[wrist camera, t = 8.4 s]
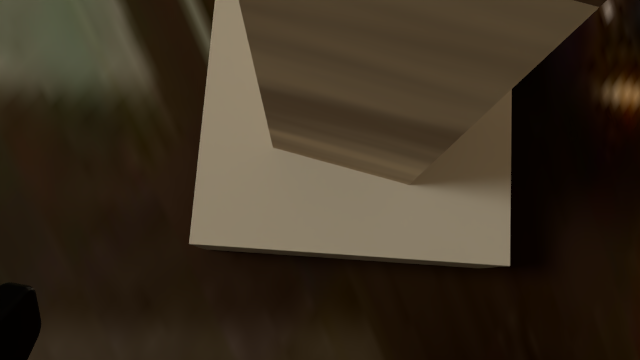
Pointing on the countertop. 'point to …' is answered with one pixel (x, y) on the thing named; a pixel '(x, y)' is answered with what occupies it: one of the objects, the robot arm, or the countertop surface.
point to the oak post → (394, 72)
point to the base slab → (339, 183)
